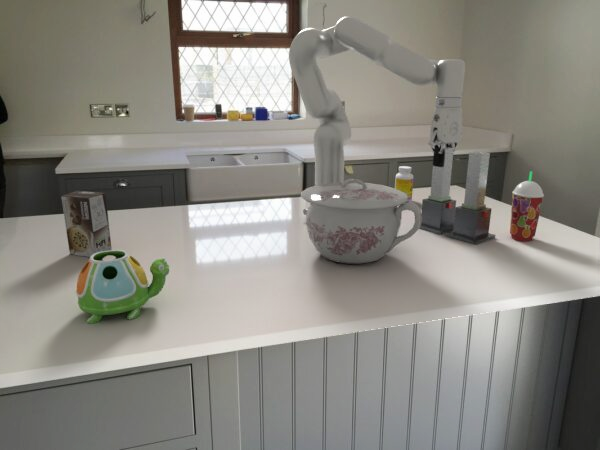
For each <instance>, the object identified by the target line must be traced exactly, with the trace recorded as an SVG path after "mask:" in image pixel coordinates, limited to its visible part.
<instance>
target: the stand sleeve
mask: <svg viewBox="0 0 600 450" xmlns="http://www.w3.org/2000/svg"><path fill="white" fill-rule="evenodd" d="M421 204H422V205H421V213H422V223H421V226H420V228H419V230H424V231H427V232H431V233H434V234H438V235H444V234H446V233H448V232H451V231H453V229H454V219H455V209H456V207H457V200H456V199H452V198H451V200H449V201H448V202H443V203H439V202H435V201H431V200H430V199H428V197H427V198H423V199H422V203H421Z"/></svg>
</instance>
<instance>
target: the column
mask: <svg viewBox="0 0 600 450" xmlns="http://www.w3.org/2000/svg"><path fill="white" fill-rule="evenodd" d="M439 148H440V146H439ZM453 151H454V148H452V147H445V146H444V148H443V152H442V154H444V156H443V166H442V167H437V166H433V165H432V172H431V174H432V175H431V185H430V195H428V197H427V198H428V199H430V200H431V201H435V202H439V203H443V202H448V201H449V200H451V199H452V196H450V191H451V182H452V181H451V180H452V170H453V163H452V161H453V160H454V152H455V151H454V152H453ZM453 162H454V161H453Z"/></svg>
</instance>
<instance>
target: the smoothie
mask: <svg viewBox="0 0 600 450" xmlns="http://www.w3.org/2000/svg"><path fill="white" fill-rule="evenodd" d="M532 178H533V171H529V176H528V180H524V181H522V182H520V183H518V184H517V185H516V186H515V188H514V189H513V190H512V193H511V194H512V196H511V211H510V227H509V228H510V229H509V234H510V237H511V239H513V240H516V241H519V242H530V241H533V239H534V237H535V236H536V232H537V228H538V224H539V218H540V214H541V210H542V206H543V200H544V197H545V194H544V193H543V192H544V191H543V189H542V187H541V186H540V185H539V183H537V182H536V181H532Z"/></svg>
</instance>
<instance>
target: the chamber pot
mask: <svg viewBox="0 0 600 450" xmlns="http://www.w3.org/2000/svg"><path fill="white" fill-rule="evenodd" d="M300 197H301V198H302V199H303V200H305V201H306V202H307V203H310V204H309V206H308V207H307V208H306V209H307V210H306V215H305V216H306V217H305V218H306V221H305V222H306V229H307V232H308V233H307V234H308V238H309V239H310V241H311V242H312V245H313V246H314V248H315V249H316V251H317V252H318V253H319V254H320V255H321V256H322V257H324V258H326V259H327V260H330V261H333V262H337V263H341V264H348V265H360V264H361V265H362V264H368V263H372V262H375V261H379V260H380V259H382V258H384V257H385V256H386V255H387V254H388V253H390V252H391V251H392V250H393V249H394V248H396V246H398V245H399V244H400V243H402V242H403V241H406V240H408V239H409V238H412V237H413V236H414V235H415V234H416V232H417V231H418V230H420V226H421V223H422V210H421V209H420V207H419V206H418V204H416V203H415V202H414V201H412V200H411V201H410V202H407V200H408V196H407V195H406V194H405V193H404V192H402V191H400V190H397V189H395V187H391V186H387V185H384V184H377V183H371V182H364V181H362V180H361V179H358V178H348V179H346V180H344V182H339V183H327V184H321V185H317V186H315V185H314V186H310V187H306V188H305V189H304V190H302V191H301V192H300ZM403 211H410V212H412V213H413V214H414V224H413V226H412V228H411V229H409V231H407V232H406V233H404V234H401V235H399V232H400V229H401V224H402V212H403Z"/></svg>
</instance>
